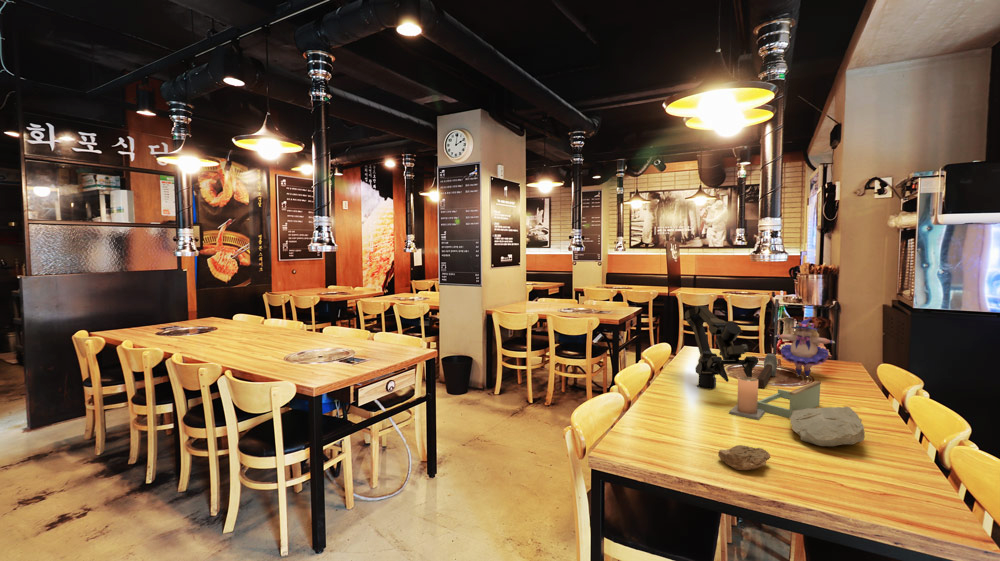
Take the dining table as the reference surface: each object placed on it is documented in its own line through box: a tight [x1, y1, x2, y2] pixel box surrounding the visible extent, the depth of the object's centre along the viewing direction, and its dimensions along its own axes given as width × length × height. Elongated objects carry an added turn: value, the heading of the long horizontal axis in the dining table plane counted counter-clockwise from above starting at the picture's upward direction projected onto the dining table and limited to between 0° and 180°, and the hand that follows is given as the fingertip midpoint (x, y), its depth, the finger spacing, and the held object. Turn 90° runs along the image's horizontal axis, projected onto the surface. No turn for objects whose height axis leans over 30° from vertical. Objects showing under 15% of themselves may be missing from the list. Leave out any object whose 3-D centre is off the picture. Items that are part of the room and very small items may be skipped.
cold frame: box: [757, 380, 822, 419], centre depth 184 cm, size 15×25×10 cm, turn 126°
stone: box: [789, 406, 866, 447], centre depth 155 cm, size 33×9×20 cm
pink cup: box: [736, 376, 759, 414], centre depth 176 cm, size 7×7×12 cm
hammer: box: [756, 353, 778, 390], centre depth 220 cm, size 5×11×30 cm
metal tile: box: [728, 404, 766, 421], centre depth 176 cm, size 10×10×1 cm
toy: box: [774, 317, 836, 377], centre depth 227 cm, size 25×21×30 cm
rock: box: [718, 444, 771, 471], centre depth 133 cm, size 13×11×5 cm
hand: (739, 381), depth 182 cm, fingers open, 9 cm apart
